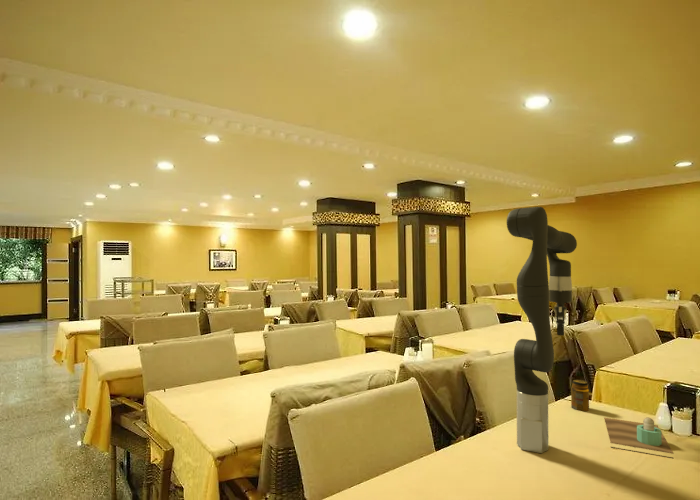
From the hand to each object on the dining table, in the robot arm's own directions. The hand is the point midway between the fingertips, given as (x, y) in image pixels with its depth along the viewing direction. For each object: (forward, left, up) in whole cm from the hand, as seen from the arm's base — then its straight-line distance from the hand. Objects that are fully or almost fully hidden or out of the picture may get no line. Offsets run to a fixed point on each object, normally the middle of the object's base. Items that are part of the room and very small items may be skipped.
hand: (560, 333), depth 154 cm
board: (-4, -22, -32) cm, 39 cm away
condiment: (+14, -6, -32) cm, 36 cm away
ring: (-9, -25, -31) cm, 41 cm away
